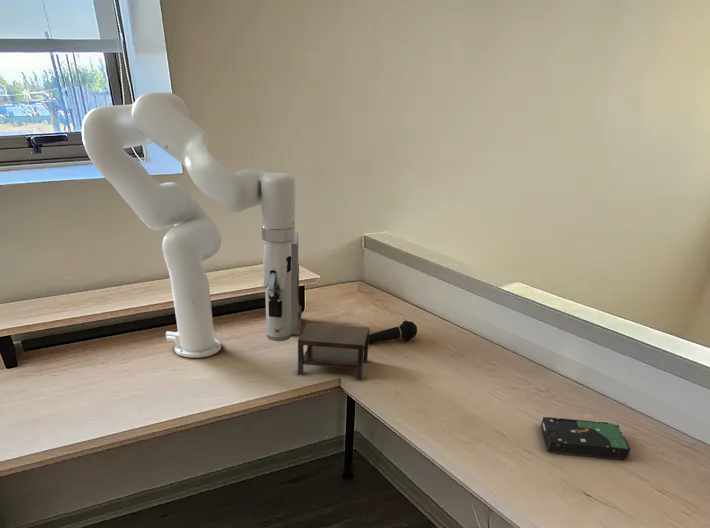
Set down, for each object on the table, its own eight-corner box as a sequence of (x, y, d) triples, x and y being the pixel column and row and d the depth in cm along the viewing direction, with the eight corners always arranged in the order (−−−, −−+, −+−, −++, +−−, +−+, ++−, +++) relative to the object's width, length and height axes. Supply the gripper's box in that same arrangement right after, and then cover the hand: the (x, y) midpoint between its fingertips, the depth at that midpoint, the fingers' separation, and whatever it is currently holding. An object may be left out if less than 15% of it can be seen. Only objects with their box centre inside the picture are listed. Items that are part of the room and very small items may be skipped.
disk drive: (546, 454, 110) (627, 460, 107) (550, 441, 108) (632, 448, 106) (539, 427, 118) (614, 433, 116) (542, 416, 117) (618, 421, 114)
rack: (298, 374, 140) (297, 340, 134) (308, 355, 149) (308, 322, 144) (361, 380, 137) (363, 345, 132) (367, 360, 146) (369, 327, 141)
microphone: (350, 357, 155) (418, 343, 157) (351, 341, 151) (421, 326, 152) (345, 345, 158) (411, 330, 160) (345, 328, 154) (414, 314, 156)
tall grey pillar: (300, 335, 161) (300, 243, 146) (279, 335, 161) (277, 243, 147) (301, 318, 172) (300, 232, 158) (281, 318, 172) (279, 232, 158)
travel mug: (281, 344, 138) (281, 260, 126) (261, 337, 141) (259, 255, 129) (296, 336, 142) (298, 255, 130) (276, 330, 145) (276, 250, 133)
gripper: (272, 225, 135) (273, 299, 145) (251, 242, 121) (254, 322, 132) (302, 227, 133) (301, 302, 144) (285, 244, 120) (285, 325, 130)
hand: (279, 311), depth 138 cm, fingers closed on travel mug, 6 cm apart
